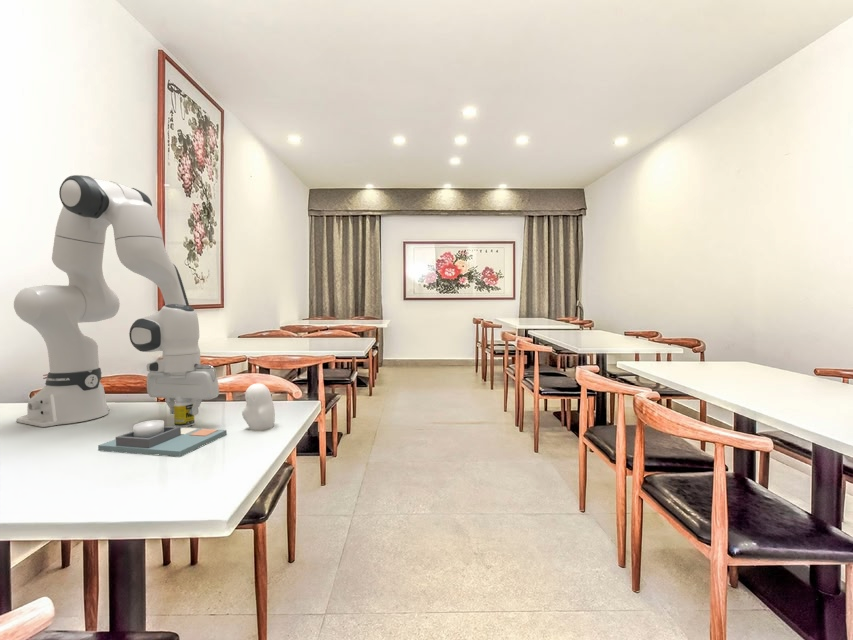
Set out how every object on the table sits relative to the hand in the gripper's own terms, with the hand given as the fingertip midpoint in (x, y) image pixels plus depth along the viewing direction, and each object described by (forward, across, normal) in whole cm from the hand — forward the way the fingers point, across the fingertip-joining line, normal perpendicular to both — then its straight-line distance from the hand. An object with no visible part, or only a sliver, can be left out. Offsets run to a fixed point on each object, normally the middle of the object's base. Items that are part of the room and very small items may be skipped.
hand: (184, 414), depth 113 cm
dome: (+2, -4, +15) cm, 16 cm away
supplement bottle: (+3, 0, 0) cm, 3 cm away
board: (+3, -6, +12) cm, 14 cm away
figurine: (+3, -22, -2) cm, 22 cm away
